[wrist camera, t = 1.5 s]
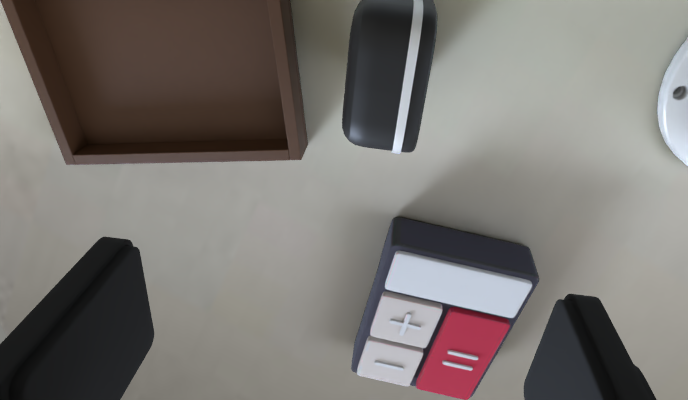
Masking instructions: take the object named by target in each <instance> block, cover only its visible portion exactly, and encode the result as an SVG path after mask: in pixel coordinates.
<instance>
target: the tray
mask: <svg viewBox="0 0 688 400" xmlns="http://www.w3.org/2000/svg"><path fill="white" fill-rule="evenodd" d="M1 3H2V5H3V8H4V10H5V13H6V15H7V18H8V20H9V23H10V25H11V28H12V30H13V33H14V35H15V38H16V40H17V43H18V45H19V48H20V50H21V53H22V55H23V58H24V60H25V63H26V65H27V68H28V70H29V73H30V75H31V78H32V80H33V83H34V85H35V88H36V90H37V93H38V95H39V98H40V100H41V103H42V105H43V108H44V110H45V113H46V115H47V118H48V120H49V123H50V125H51V128H52V130H53V133H54V135H55V138H56V140H57V143H58V145H59V148H60V150H61V153H62V155H63V158H64V160H65V163H66V165H89V164H135V163H181V162H227V161H273V160H301V159H302V157H303V154H304V152H305V150H306V148H307V145H308V142H307V133H306V125H305V117H304V109H303V101H302V93H301V85H300V76H299V68H298V60H297V52H296V44H295V36H294V28H293V19H292V11H291V3H290V0H1Z"/></svg>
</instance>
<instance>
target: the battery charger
mask: <svg viewBox="0 0 688 400" xmlns="http://www.w3.org/2000/svg"><path fill="white" fill-rule="evenodd" d="M436 33H437V12H436V7H435V4H434V2H433V0H362V1H361V2H360V3H359V4H358V6H357V8H356V10H355V13H354V16H353V21H352V26H351V32H350V40H349V51H348V63H347V72H346V83H345V94H344V105H343V118H342V128H343V131H344V134H345V136H346V138H347V139H348V140H349V141H350V142H352V143H353V144H355V145H358V146H362V147H368V148H376V149H383V150H391V152H392V153H396V154H400V153H401V152H412V151H413V150H414V149H415V147H416V144H417V140H418V135H419V130H420V125H421V119H422V114H423V108H424V103H425V98H426V92H427V87H428V81H429V75H430V70H431V64H432V59H433V53H434V47H435V41H436Z"/></svg>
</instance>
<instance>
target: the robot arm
mask: <svg viewBox="0 0 688 400" xmlns="http://www.w3.org/2000/svg"><path fill="white" fill-rule="evenodd" d="M677 87H678V88H677ZM676 88H677V90H676V91H674V90H675V89H676ZM657 114H658V122H659V128H660V131H661V133H662V136H663V138H664V141H665V143H666V144H667V145H668V147H669V148H670V149H671V151H672V152H673V153H674V155H676V156H677V157H678V158H679V159H680V160H681V161H682V162H683V163H685V164H686V165H687V166H688V38H687V39H686V40H685V42H684V43H683V44H682V46H681V47H680V49H679V50H678V51H677V53H676V54H675V55H674V57H673V59H672V61H671V63H670V65H669V67H668V69H667V71H666V73H665V75H664V78H663V82H662V85H661V88H660V91H659V97H658V108H657ZM153 338H154V329H153V323H152V318H151V312H150V306H149V301H148V295H147V290H146V284H145V278H144V273H143V267H142V262H141V256H140V251H139V249H138V248H137V247H133V244H132V242H131V241H130V240H127V239H119V238H111V237H102V238H100V239H99V240H98V241H97V242H96V243H95V244H94V245H93V246H92V247H91V248H90V250H89V251H88V252H87V253H86V254H85V255H84V256H83V257H82V258H81V259H80V260H79V261H78V262H77V263H76V264H75V265H74V267H73V268H72V269H71V270H70V271H69V272H68V273H67V274H66V275H65V276H64V277H63V278H62V279H61V280H60V281H59V282H58V284H57V285H56V286H55V287H54V288H53V289H52V290H51V291H50V292H49V293H48V294H47V295H46V296H45V297H44V298H43V299H42V301H41V302H40V303H39V304H38V305H37V306H36V307H35V308H34V309H33V310H32V311H31V312H30V313H29V314H28V315H27V316H26V318H25V319H24V320H23V321H22V322H21V323H20V324H19V325H18V326H17V327H16V328H15V329H14V330H13V331H12V332H11V334H10V335H9V336H8V337H7V338H6V339H5V340H4V341H3V342H2V343H1V344H0V400H120V399H121V397H122V396H123V394H124V392H125V390H126V389H127V387H128V385H129V384H130V382H131V380H132V378H133V377H134V375H135V373H136V372H137V370H138V368H139V366H140V365H141V363H142V361H143V360H144V358H145V356H146V354H147V353H148V351H149V349H150V347H151V345H152V342H153ZM524 398H525V400H656V398H655V396H654V394H653V392H652V390H651V388H650V387H649V385H648V383H647V381H646V379H645V377H644V375H643V374H642V372H641V371H640V369H639V368H638V367H636V366H635V365H634V364H633V362H632V360H631V359H630V357H629V355H628V353H627V351H626V349H625V347H624V345H623V343H622V341H621V339H620V337H619V335H618V333H617V332H616V330H615V328H614V326H613V324H612V322H611V320H610V318H609V316H608V314H607V312H606V310H605V308H604V306H603V305H602V303H601V301H600V300H599V298H597V297H592V296H584V295H576V294H568V295H567V296H566V297H565V299H564V300H561V299H560V300H558V301H557V302H556V304H555V306H554V308H553V311H552V313H551V316H550V318H549V321H548V324H547V326H546V329H545V331H544V334H543V336H542V339H541V341H540V344H539V346H538V349H537V351H536V354H535V356H534V359H533V362H532V364H531V367H530V369H529V372H528V374H527V377H526V379H525V383H524Z"/></svg>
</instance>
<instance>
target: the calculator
mask: <svg viewBox="0 0 688 400" xmlns="http://www.w3.org/2000/svg"><path fill="white" fill-rule="evenodd" d="M538 282H539V276H538V273H537V270H536V267H535V264H534V260H533V257H532V254H531V251H530V249H529V248H528V247H526V246H523V245H518V244H514V243H510V242H505V241H501V240H497V239H492V238H488V237H484V236H479V235H475V234H471V233H466V232H462V231H457V230H453V229H449V228H444V227H440V226H436V225H431V224H427V223H423V222H418V221H414V220H410V219H405V218H401V217H395V218H394V219H393V220H392V222H391V225H390V228H389V231H388V235H387V238H386V241H385V244H384V248H383V251H382V255H381V259H380V263H379V267H378V270H377V273H376V276H375V280H374V283H373V286H372V289H371V292H370V296H369V299H368V302H367V305H366V308H365V312H364V315H363V318H362V321H361V324H360V327H359V331H358V334H357V337H356V340H355V344H354V351H353V358H352V367H351V369H352V371H353V372H356V373H357V374H358V375H360V376H363V377H368V378H372V379H376V380H381V381H385V382H390V383H394V384H398V385H403V386H409V385H412V386H416V388H417V389H420V390H425V391H429V392H433V393H438V394H442V395H446V396H451V397H455V398H460V399H464V400H467V399H469V398H470V397H472V396H473V394H474V392H475V391H476V389H477V387H478V385H479V384H480V382H481V380H482V379H483V377H484V375H485V373H486V372H487V370H488V368H489V367H490V365H491V363H492V361H493V360H494V358H495V356H496V354H497V353H498V351H499V349H500V348H501V346H502V344H503V342H504V341H505V339H506V337H507V335H508V334H509V332H510V330H511V329H512V327H513V325H514V323H515V322H516V320H517V318H518V316H519V315H520V313H521V311H522V310H523V308H524V306H525V304H526V303H527V301H528V299H529V297H530V296H531V294H532V292H533V291H534V289H535V287H536V285H537V284H538Z"/></svg>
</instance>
